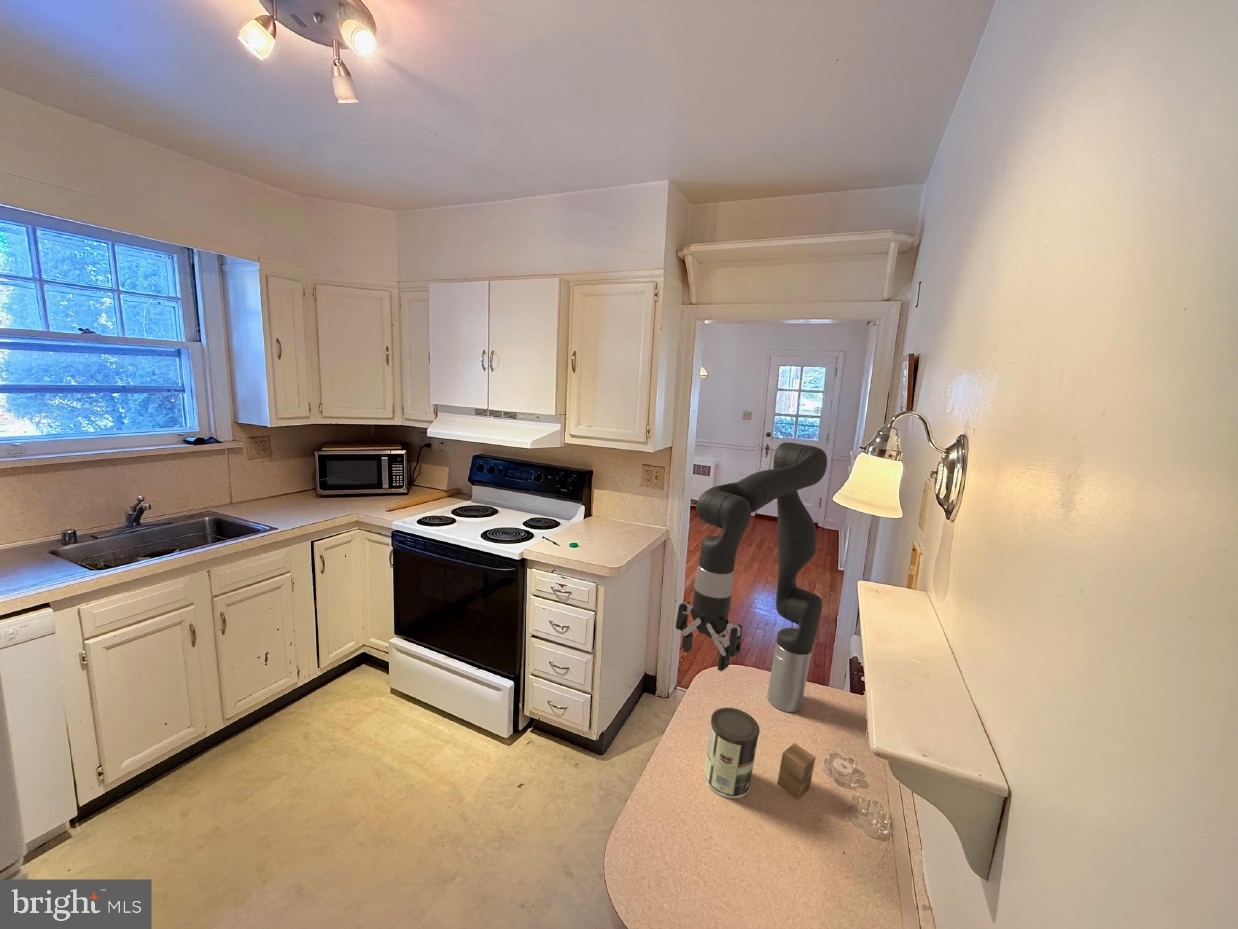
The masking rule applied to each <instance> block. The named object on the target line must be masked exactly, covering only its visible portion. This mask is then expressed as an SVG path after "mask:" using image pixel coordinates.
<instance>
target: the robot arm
mask: <svg viewBox="0 0 1238 929" xmlns="http://www.w3.org/2000/svg"><path fill="white" fill-rule="evenodd" d="M772 463H773V464H772V466H773V468H771V469H766V470H765V469H764V470H760V471H757V472H754V473H752V474H749V475H748V476H746V477H745V478H742V479H740V480H739V481H736V482H730V483H725V484H721V485H716V486H713V487H711V488H709V489H706V490H705V491H704V492H703V493H702V494H701V495H700V497H699V498H698V500H697V503H696V509H695V511H696V514H697V516H698V517H699V519H700V520H701V521H702V522H704V523H706V524H708V525H711V526H714V527H717V528H719V529H722V531H723V532H722V535H708V536H706V537H704V538H703V539H702V541H701V543H700V549H699V550H700V551H699V558H698V564H697V569H696V573H695V580H694V587H693V595H692V596H693V597H692V605H691V603H690V601H688V600H686V601H684V602H682V603H680V604H679V606H678V610H677V611H678V612H677V615H676V622H675V629H676V630H677V631H679V630H680V631H681V634H682V641H681V647H682V649H683V650H682V651H683V652H684V653H686V654H688V653H689V652H690V651H692V647H693V641H694V633H693V632H694V631H696V630H697V632H698V633H699V634H702V635H705V636H707V637H708V638H710V639H712V640H713V642H714V644H715V646H717V648H718V650H719V655H718V664H717V665H718V666H717V671H718V672H723V671H724V670H726V669H727V668H728V667H729V666H730V657H731V658H734V657H735V656H737V655H738V654H739V653H741V647H742V633H743V626H742V625H741V624H736V625H735V624H733V623H730V621H729V614H730V610H731V603H732V602H731V601H732V596H733V587H734V580H735V579H734V578H735V577H734V573H735V572H734V571H735V563H736V557H737V551H738V549H739V546H740V544H741V541H742V538H743V536H744V534H745V532H746V530H747V528H748V526H749V523H750V521H751V517H752V514H753V513H754V512H755V513H756V511H758V510H760V509H762V508H763V507H765V506H766V505H768V504H770V503H771V502H773V501H774V500H776V504H777V550H778V551H777V553H778V554H777V555H778V556H777V557H778V570H777V571H778V573H777V574H778V575H777V586H776V587H777V588H776V598H775V599H776V600H775V607H776V611H777V614H778V615H779V616H780V617H782V618H783V619H785V620H787V621H790V622H791V623H793V624H796V625H797V626H798V628H793V627H785V628H782V629H780V630H779V631H778V632H777V636H776V643H775V647H774V654H773V658H772V659H773V660H772V665H771V672H770V677H769V683H768V688H767V697H766V698H767V700H768V702H769V703H770V705H771V706H773V707H775V708H776V709H778V710H780V711H783V712H787V713H797V712H800V711H801V709H802V707H803V706H802V705H803V699H804V695H805V691H806V684H807V679H808V674H809V667H810V664H811V663H810V661H811V656H812V651H813V646H814V644H815V639H816V637H817V633H818V632H817V631H818V627H819V623H820V620H821V615H822V612H823V600H822V598H821V597H820V595H817V594H816V593H812V592H810V591H808V590H806V589H803V588H800V587H798V586H797V575H798V574H799V573H800V571H802V569H803V568H805V566H806V565H807V564H809V562H810V561H811V560H812V559H813V557H814V556H815V554H816V550H817V527H816V525H815V522H814V520H813V518H812V516H811V514H810V512H809V511H808V510H807V508H806V506H805V504H804V503H803V501H802V500H801V497H800V495H799V492H798V491H799V490H802V489H804V488H809V487H811V486H814V485H817V484H818V483H819V482H821V480H822V479H823V478H824V476H825V474H826V471H827V467H828V456H827V453H826V451H824V450H823V449H822V448H820V447H818V446H814V445H808V444H802V443H796V442H789V441H784V442H782V443H780V444H779V445H778V446H777V448H776V449H775V452H774V457H773V462H772ZM689 614H690V616H691V618H692V622H691V623H690V624H689V625H688V620H689ZM727 631H728V632H727Z"/></svg>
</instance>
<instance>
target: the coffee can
mask: <svg viewBox="0 0 1238 929" xmlns="http://www.w3.org/2000/svg"><path fill="white" fill-rule="evenodd" d="M759 735H760V726H759V723H758V722H757V721H756V719H755V718H754V717H753V716H751V715H750V714H749V713H747V712H746V711H743V710H741V709H738V708H734V707H720V708H717V709H716V710H715V711H713V712H712V714H711V717H710V728H709V735H708V742H707V750H706V757H705V764H704V770H703V778H704V781H705V783H706V785H707V787H709V789H710V790H711V791H712V792H714V793H715V794H717V795H719V796H720V797H723V798H726V799H731V800H734V799H735V800H736V799H741V798H744V797H745V796H746V795H747V794H749V792H750V790H751V783H752V776H753V768H754V763H755V757H756V751H757V750H756V749H757V745H758V738H759Z"/></svg>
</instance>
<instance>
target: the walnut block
mask: <svg viewBox="0 0 1238 929" xmlns="http://www.w3.org/2000/svg"><path fill="white" fill-rule="evenodd" d="M781 754H782V756H781V760H780V766H779V771H778V772H779V773H778V777H777V783H776V784H777V785H778V786H779V787H781V788H782V789H783V790H785V791H786V792H787V793H789V794H790V795H791V796H792V797H793V798H794V799H796V800H800V798H802V797H803V796H804V794H806V793H807V791H809V790H810V787H811V783H812V777H813V773H814V766H815V762H816V756H815V755H813V754H812V753H810V752H809V751H808V750H806V749H804V748H803V746H802V747H801V746H800V745H799V744H797V743H796V742H794V743H792V744H791V745H790V746H789V747H788V748H786V749H785V750H784V751H783V752H782V753H781Z"/></svg>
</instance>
